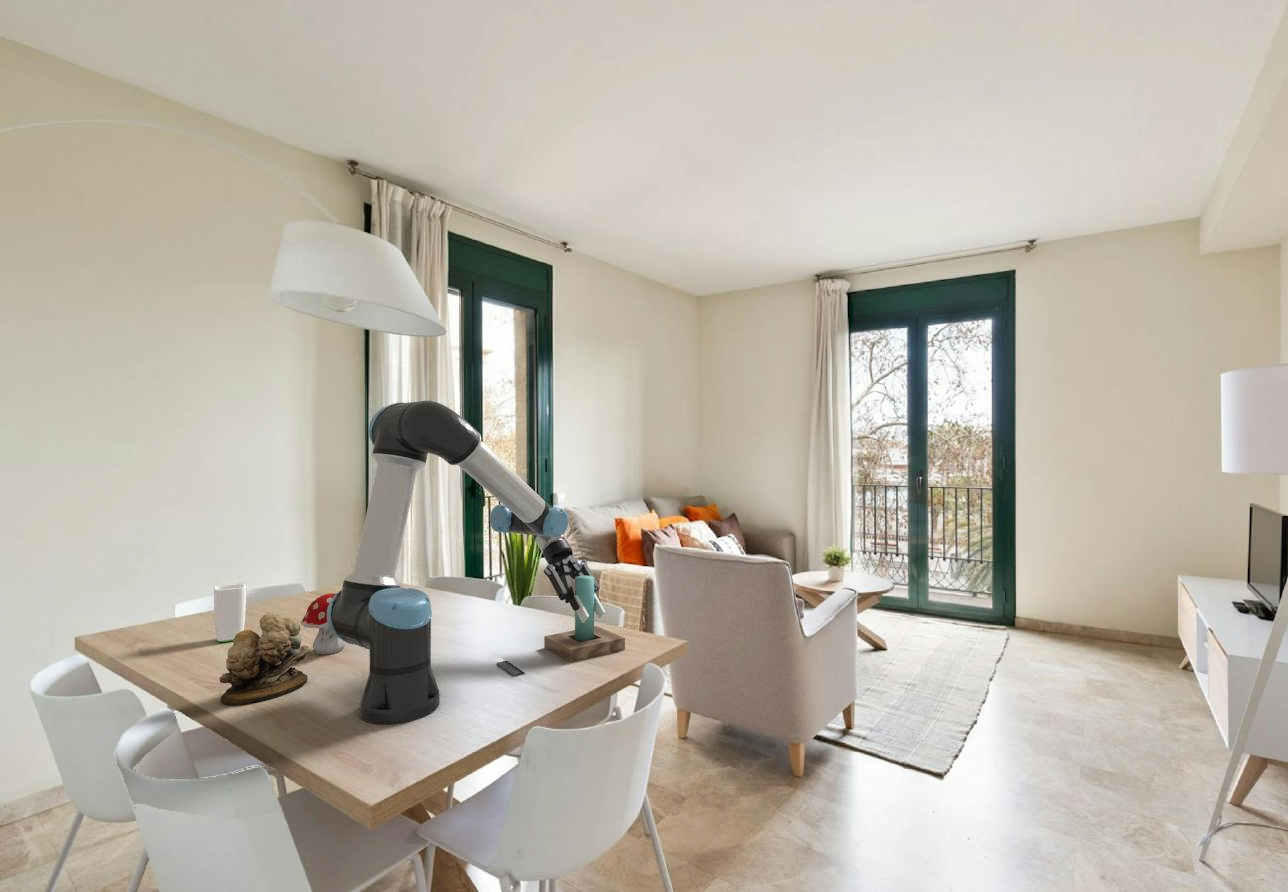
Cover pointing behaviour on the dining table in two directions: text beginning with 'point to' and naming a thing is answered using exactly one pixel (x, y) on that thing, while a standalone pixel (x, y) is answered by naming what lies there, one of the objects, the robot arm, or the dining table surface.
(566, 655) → the walnut holder
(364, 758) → the dining table surface
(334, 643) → the decorative mushroom
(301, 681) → the brown lumpy sculpture
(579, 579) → the teal peg
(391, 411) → the robot arm
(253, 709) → the dining table surface
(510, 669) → the charcoal mat
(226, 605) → the cup
